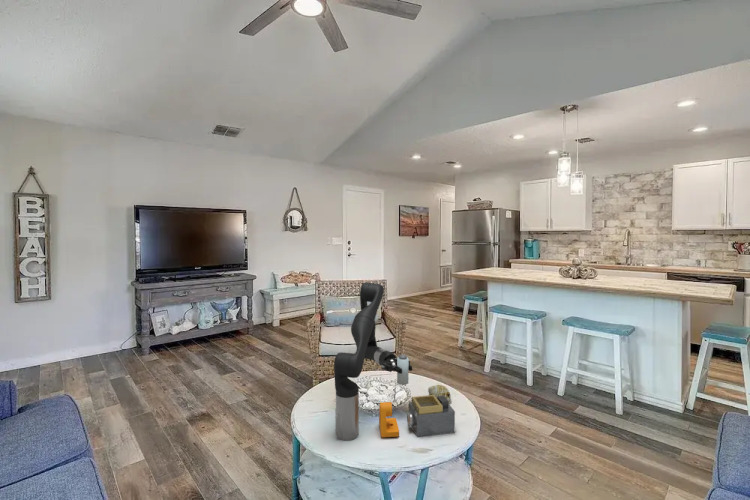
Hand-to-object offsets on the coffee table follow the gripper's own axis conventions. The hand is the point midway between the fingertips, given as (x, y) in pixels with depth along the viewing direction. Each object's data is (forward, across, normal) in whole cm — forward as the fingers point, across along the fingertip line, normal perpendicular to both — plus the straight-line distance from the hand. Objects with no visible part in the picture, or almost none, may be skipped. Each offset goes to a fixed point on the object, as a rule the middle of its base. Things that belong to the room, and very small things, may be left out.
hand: (406, 370), depth 157 cm
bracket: (+4, -12, +22) cm, 26 cm away
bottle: (-3, 0, +6) cm, 7 cm away
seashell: (-5, +24, +22) cm, 32 cm away
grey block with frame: (+12, +4, +22) cm, 25 cm away
